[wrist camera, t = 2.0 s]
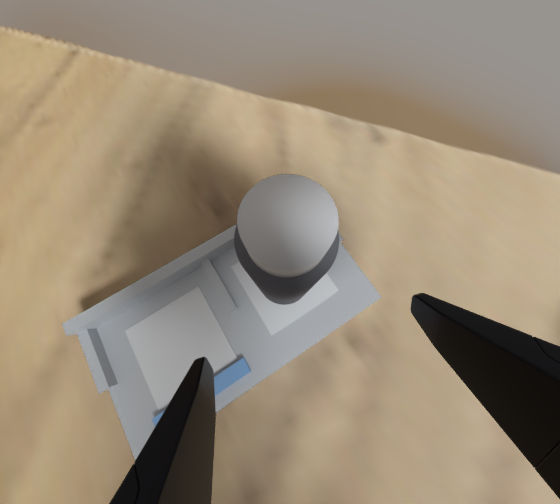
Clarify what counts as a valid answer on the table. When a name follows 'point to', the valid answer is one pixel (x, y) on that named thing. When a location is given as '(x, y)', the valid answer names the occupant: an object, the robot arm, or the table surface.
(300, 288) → the grey upright cylinder
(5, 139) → the table surface
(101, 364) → the white tray
